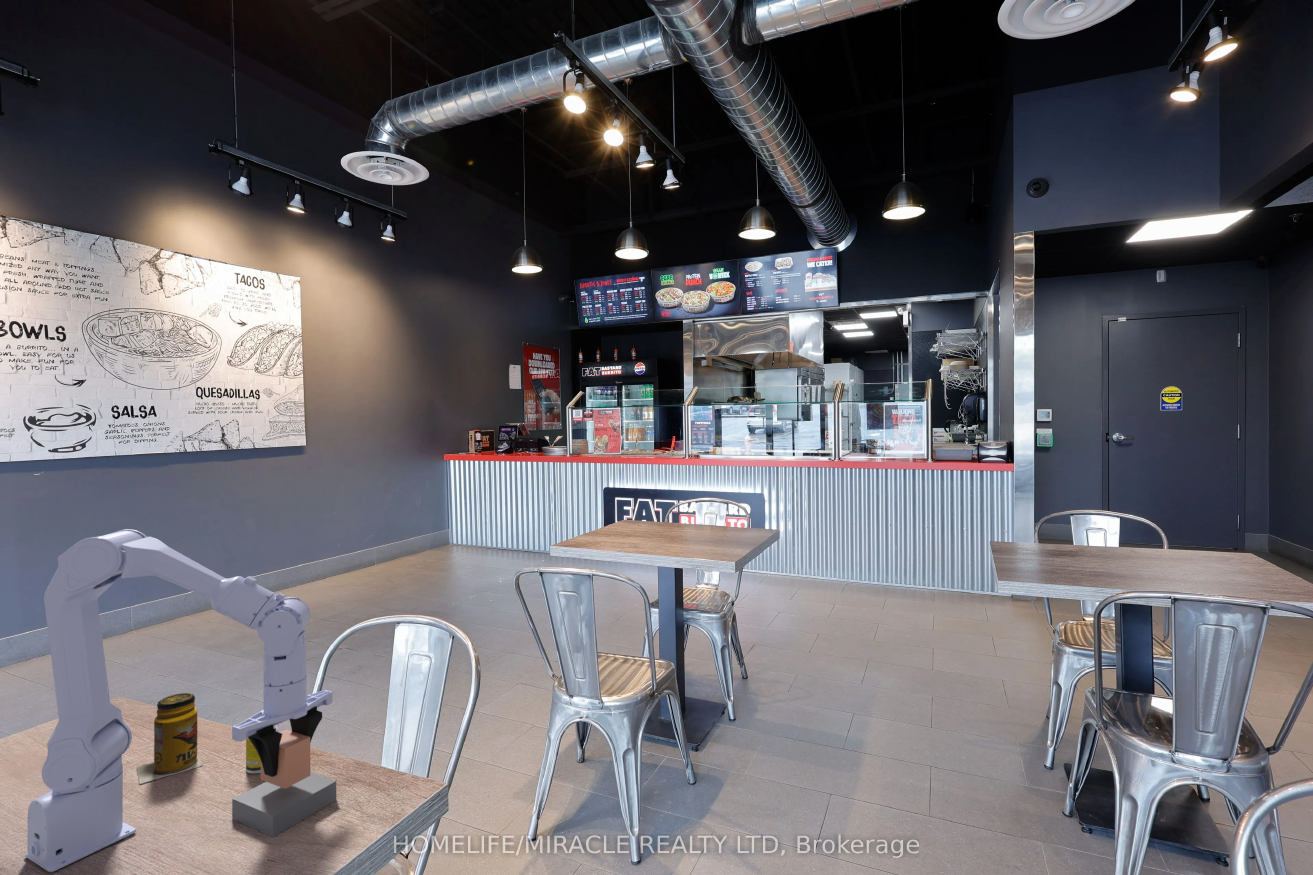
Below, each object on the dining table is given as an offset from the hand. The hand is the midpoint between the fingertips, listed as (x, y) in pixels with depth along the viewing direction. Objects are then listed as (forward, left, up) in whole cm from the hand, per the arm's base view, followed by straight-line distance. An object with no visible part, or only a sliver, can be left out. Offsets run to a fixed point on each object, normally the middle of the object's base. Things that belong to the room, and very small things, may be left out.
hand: (285, 766), depth 94 cm
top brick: (0, 0, -2) cm, 2 cm away
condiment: (-1, +31, -7) cm, 32 cm away
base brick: (0, 0, -6) cm, 6 cm away
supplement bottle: (+6, +16, -7) cm, 18 cm away
